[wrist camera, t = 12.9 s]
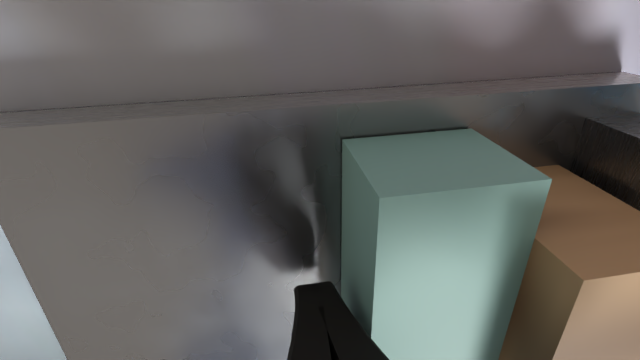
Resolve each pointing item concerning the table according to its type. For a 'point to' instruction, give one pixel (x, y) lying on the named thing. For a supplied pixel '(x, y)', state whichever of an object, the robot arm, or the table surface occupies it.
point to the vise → (250, 199)
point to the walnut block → (579, 278)
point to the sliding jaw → (436, 241)
